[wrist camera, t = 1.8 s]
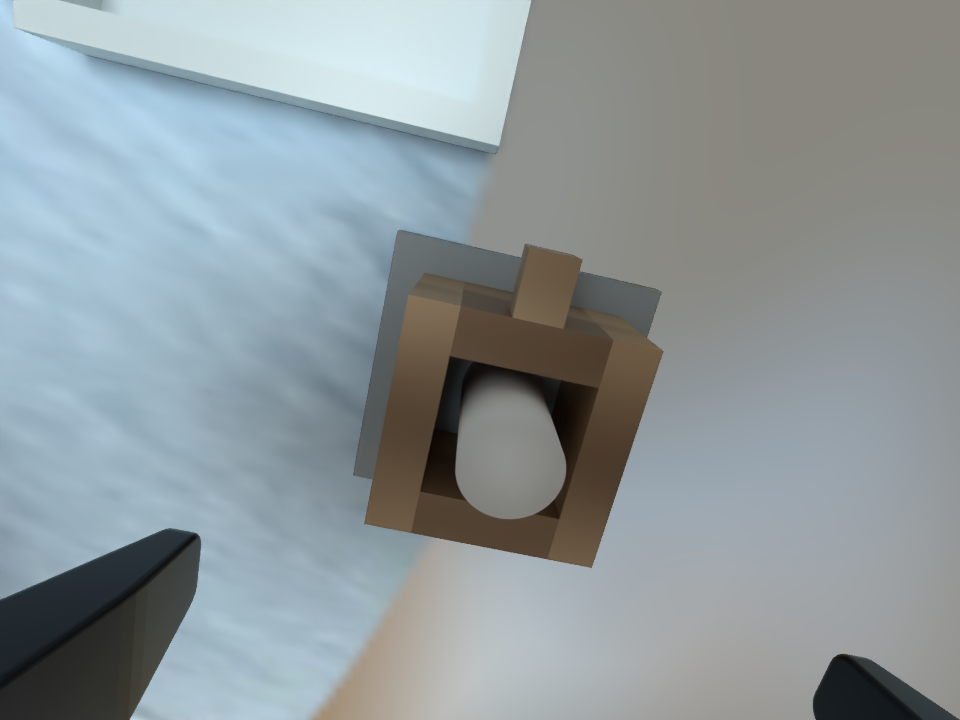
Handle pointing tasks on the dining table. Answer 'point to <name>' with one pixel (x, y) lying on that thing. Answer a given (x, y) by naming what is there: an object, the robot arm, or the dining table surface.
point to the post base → (479, 274)
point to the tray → (317, 53)
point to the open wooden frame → (528, 348)
